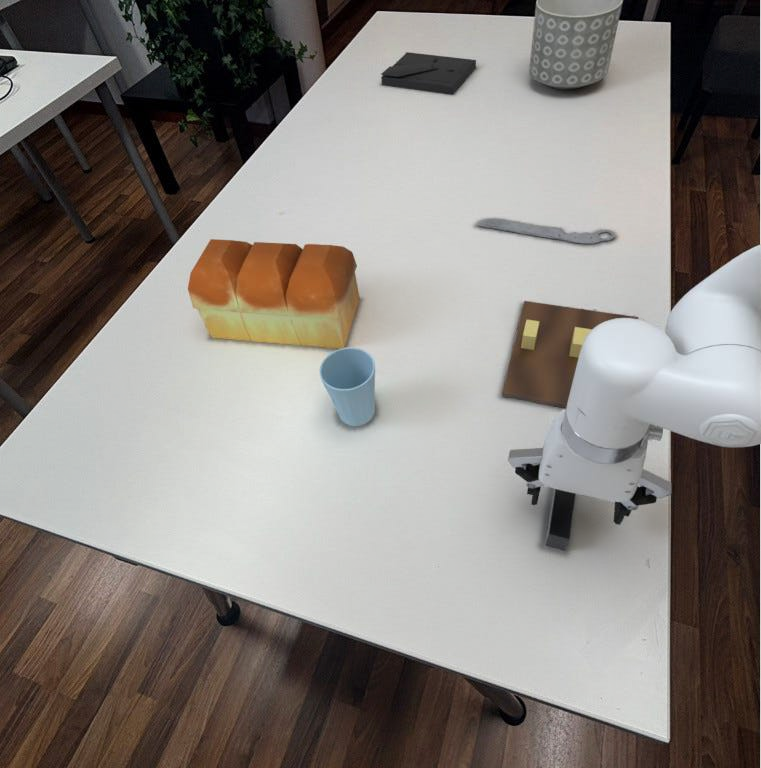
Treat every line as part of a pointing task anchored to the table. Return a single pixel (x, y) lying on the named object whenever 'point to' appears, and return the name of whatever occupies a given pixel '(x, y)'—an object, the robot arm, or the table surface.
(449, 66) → the picture frame
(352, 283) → the bread
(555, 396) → the butter board
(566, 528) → the screwdriver
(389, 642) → the table surface
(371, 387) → the cup
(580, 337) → the butter
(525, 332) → the butter pat
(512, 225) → the knife
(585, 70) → the planter
